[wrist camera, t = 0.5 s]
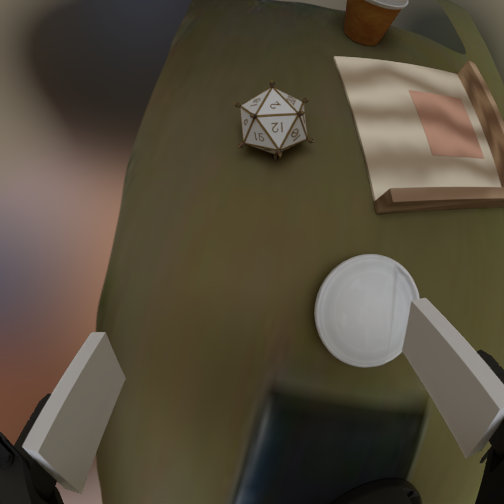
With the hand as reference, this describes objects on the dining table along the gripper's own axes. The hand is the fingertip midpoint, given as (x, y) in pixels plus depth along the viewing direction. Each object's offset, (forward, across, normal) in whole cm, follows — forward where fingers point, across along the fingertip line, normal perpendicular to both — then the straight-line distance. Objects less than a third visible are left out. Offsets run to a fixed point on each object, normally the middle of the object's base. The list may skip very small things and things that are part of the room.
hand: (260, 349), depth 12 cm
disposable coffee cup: (+38, -22, -26) cm, 51 cm away
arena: (+28, -27, -10) cm, 41 cm away
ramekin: (+18, -11, +10) cm, 23 cm away
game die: (+28, -4, -8) cm, 29 cm away
